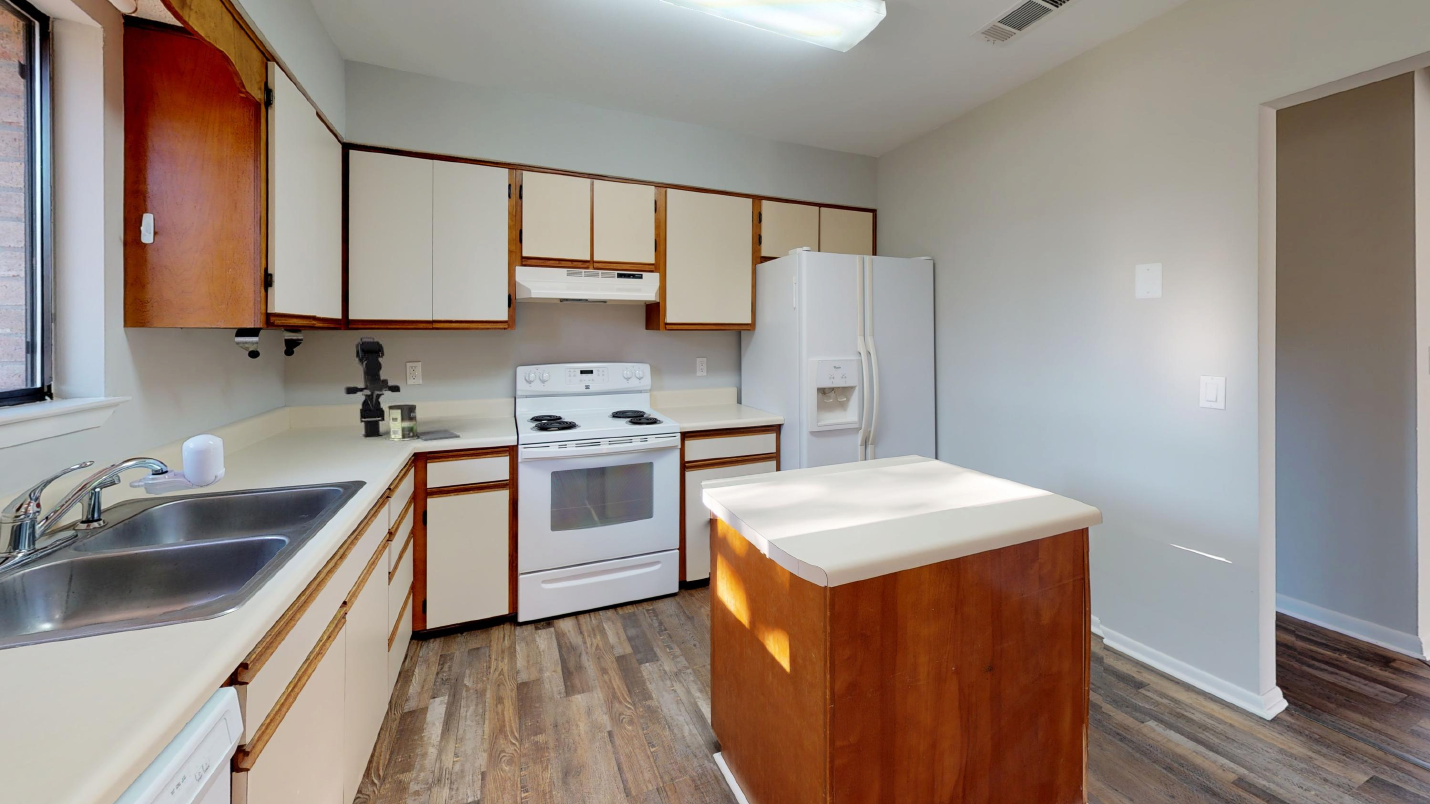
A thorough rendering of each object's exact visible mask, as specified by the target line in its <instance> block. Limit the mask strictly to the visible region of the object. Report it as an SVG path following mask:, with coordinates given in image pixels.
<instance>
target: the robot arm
mask: <svg viewBox="0 0 1430 804" xmlns="http://www.w3.org/2000/svg"><path fill="white" fill-rule="evenodd" d="M354 350H355V351H354V353H355V359H357V363H358V365H359V366H360V367H361V368H362V380H363V387H359V386H357V385H349V386H347V385H346V386H344V387H343V390H344V391H343V392H344V394H345V395H356V394H358V393H361V396H364V399H363V401H362V402H361V408H359V422H360V423H361V424H362V423H363V426H364V427H363V430H364V433H362V436H363V437H364V438H370V437H381V436H383V434H382V433H381V429H380V428H381V427H380V425H381V424H380V422H385V421H386V420H385V410H384V408H383V407H382V404H381V401H380V398H381V397H383V396H384V395H385V392H391V393H401V387H400V385H399V384H389V380H388V378H382V377H381V370H382V369H383V365H382V362H381V361H380V360H379V359H383V358H384V357H385V348H384V346H383V344H382V343H380V341H379V340H375V339H374V337H372V336H371V337H370V336H369V337H367V336H362V337H360V338H359V341H358V342H357V343H356V344H355V348H354Z"/></svg>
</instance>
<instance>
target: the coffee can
mask: <svg viewBox="0 0 1430 804" xmlns="http://www.w3.org/2000/svg"><path fill="white" fill-rule="evenodd" d="M387 408H388V420H389V421H388V423H389V440H390V441H395V442H401V441H402V440H405V441H412V440H417V439H418V437H417V432H418V424H417V423H418V422H417V419H418V418H417V405H416V404H407V403H405V404H393V405H392V404H391V405H388V406H387ZM402 442H403V441H402Z"/></svg>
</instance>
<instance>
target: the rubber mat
mask: <svg viewBox="0 0 1430 804" xmlns="http://www.w3.org/2000/svg"><path fill="white" fill-rule="evenodd" d="M417 437H418V438H419V439H420V440H422V441H435V440H437V441H438V440H447V439H456V438H457V439H458V438H459V439H460V438H461V436H460V435H459V434H457V433H455V432H453V431H451V430H449V429H441V430H429V431H417ZM418 438H417V439H418Z"/></svg>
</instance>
